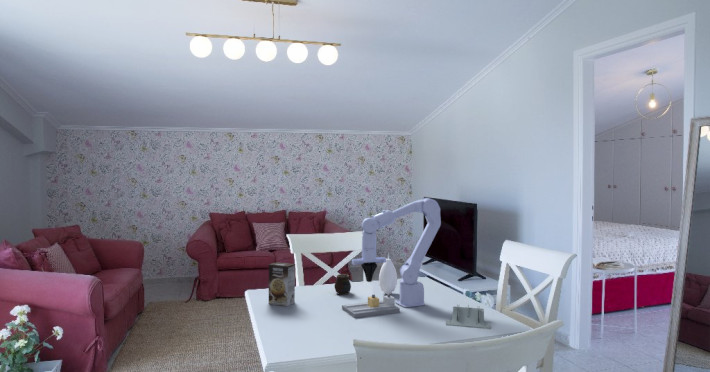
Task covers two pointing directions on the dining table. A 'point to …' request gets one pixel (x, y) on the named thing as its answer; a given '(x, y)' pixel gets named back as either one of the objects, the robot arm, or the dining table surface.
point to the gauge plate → (372, 308)
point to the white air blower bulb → (388, 277)
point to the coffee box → (281, 283)
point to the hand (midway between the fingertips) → (368, 281)
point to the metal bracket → (468, 318)
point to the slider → (373, 301)
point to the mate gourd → (342, 284)
